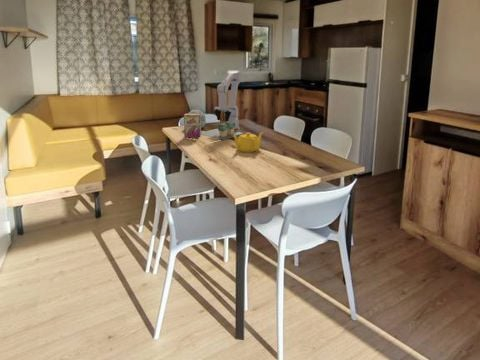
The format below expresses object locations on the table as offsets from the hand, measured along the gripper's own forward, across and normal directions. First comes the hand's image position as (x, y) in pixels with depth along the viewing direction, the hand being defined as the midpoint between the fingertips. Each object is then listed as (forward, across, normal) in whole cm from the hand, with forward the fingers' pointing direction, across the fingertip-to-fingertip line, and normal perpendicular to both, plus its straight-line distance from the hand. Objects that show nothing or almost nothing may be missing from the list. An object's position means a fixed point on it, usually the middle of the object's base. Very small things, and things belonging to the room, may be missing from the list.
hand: (222, 120), depth 281 cm
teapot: (+10, +42, -26) cm, 50 cm away
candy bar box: (+10, -10, -21) cm, 25 cm away
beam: (+5, +6, -3) cm, 9 cm away
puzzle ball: (+10, -28, +1) cm, 29 cm away
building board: (+10, -1, -3) cm, 10 cm away
